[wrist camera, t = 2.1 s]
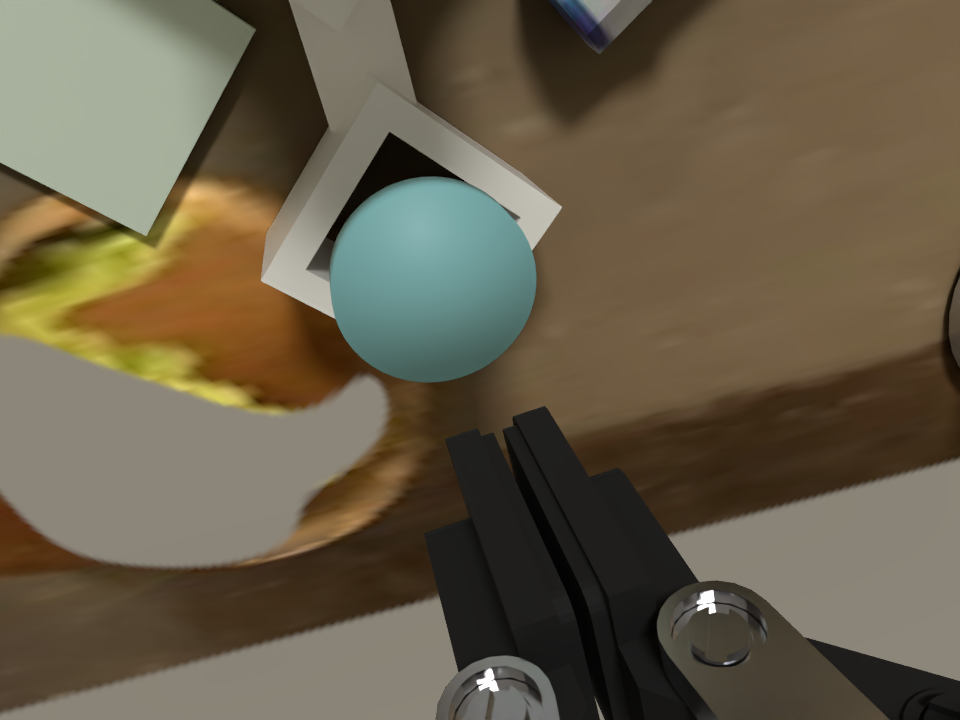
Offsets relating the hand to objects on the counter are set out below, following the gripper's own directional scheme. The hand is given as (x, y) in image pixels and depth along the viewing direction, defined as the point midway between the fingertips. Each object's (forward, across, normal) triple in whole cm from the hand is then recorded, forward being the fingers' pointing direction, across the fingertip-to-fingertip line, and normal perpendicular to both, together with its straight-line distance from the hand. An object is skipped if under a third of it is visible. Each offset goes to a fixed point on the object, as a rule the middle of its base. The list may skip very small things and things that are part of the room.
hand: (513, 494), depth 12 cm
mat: (+18, +8, -7) cm, 21 cm away
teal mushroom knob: (+15, 0, 0) cm, 15 cm away
